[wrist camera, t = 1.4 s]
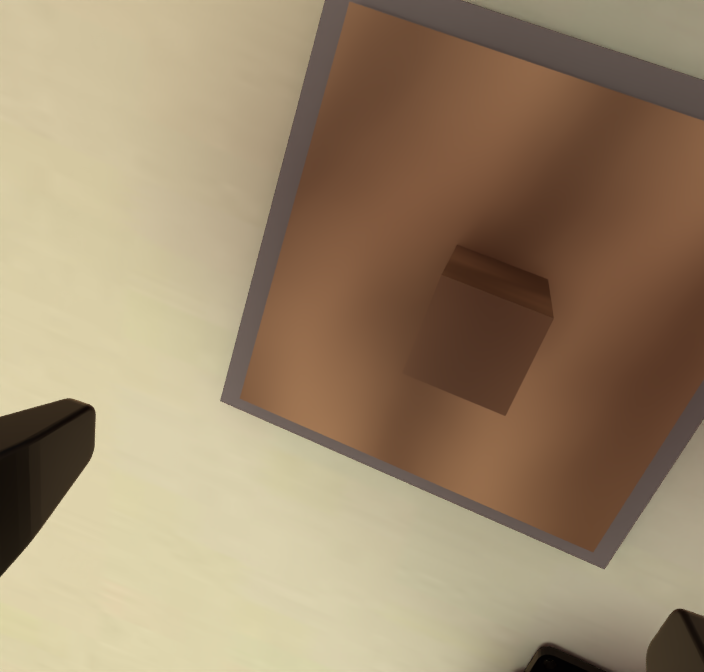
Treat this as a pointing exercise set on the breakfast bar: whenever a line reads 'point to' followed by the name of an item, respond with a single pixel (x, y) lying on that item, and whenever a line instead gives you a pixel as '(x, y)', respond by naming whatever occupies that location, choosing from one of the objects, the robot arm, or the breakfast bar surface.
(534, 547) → the breakfast bar surface
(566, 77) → the walnut lid
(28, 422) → the robot arm
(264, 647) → the breakfast bar surface
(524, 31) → the rubber mat
